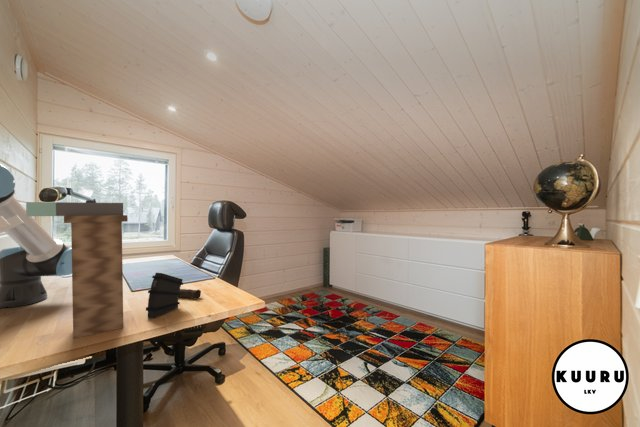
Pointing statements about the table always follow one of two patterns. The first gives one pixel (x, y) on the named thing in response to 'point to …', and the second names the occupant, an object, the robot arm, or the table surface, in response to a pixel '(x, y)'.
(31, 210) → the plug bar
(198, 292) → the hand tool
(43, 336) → the table surface
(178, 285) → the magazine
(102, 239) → the walnut stand
